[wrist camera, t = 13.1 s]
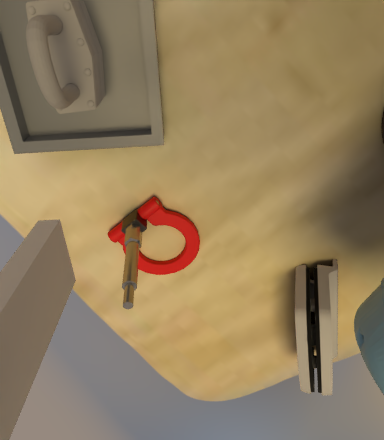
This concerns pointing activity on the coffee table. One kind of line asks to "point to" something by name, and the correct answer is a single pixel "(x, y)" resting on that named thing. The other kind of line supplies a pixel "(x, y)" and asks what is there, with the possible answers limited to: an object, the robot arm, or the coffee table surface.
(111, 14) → the tray
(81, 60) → the padlock
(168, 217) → the tow hook
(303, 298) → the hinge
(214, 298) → the coffee table surface
